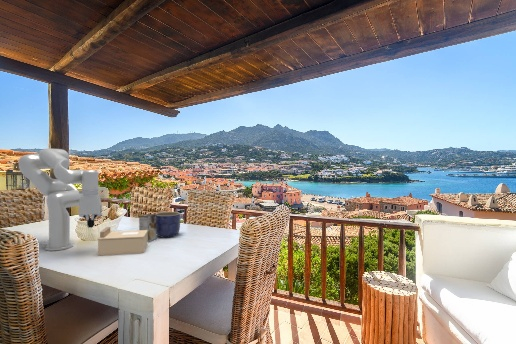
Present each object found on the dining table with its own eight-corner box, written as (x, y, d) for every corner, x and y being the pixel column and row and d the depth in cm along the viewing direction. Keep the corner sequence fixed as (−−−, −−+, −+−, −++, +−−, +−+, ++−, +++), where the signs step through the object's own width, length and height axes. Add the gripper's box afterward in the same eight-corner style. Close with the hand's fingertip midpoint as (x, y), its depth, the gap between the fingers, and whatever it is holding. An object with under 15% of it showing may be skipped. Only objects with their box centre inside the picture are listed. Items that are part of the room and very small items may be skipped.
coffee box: (147, 238, 178) (147, 213, 177) (156, 238, 176) (156, 214, 176) (138, 242, 169) (138, 216, 168) (148, 242, 167) (148, 216, 167)
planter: (170, 239, 174) (170, 216, 174) (148, 237, 180) (148, 214, 179) (184, 233, 190) (185, 212, 190) (164, 231, 195) (165, 210, 195)
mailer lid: (97, 239, 142) (97, 232, 142) (105, 232, 157) (105, 226, 157) (143, 237, 148) (143, 230, 148) (147, 231, 163) (147, 224, 163)
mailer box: (98, 255, 143) (98, 240, 142) (106, 247, 157) (106, 233, 157) (143, 252, 148) (143, 238, 148) (147, 245, 163) (147, 231, 162)
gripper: (71, 194, 142) (72, 229, 142) (103, 193, 146) (104, 227, 146) (77, 192, 149) (77, 226, 150) (107, 192, 153) (108, 225, 153)
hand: (90, 227), depth 148 cm, fingers closed
